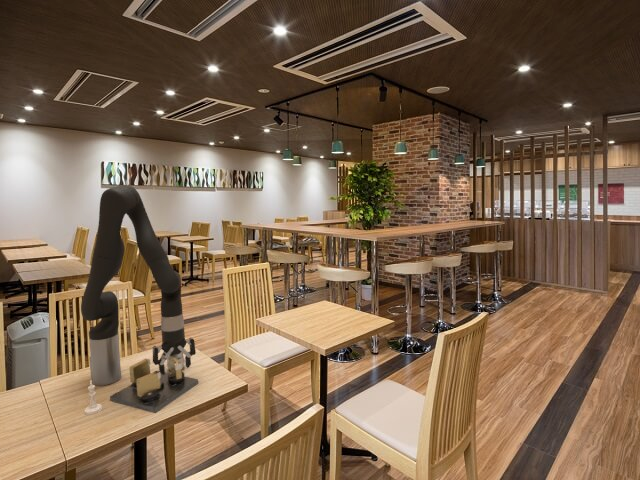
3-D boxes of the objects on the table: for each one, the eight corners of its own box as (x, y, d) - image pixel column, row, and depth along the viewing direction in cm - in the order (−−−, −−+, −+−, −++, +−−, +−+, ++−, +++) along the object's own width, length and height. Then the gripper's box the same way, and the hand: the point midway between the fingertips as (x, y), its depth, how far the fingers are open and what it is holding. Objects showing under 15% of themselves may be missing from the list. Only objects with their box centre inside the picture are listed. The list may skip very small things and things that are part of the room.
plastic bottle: (179, 373, 143) (176, 323, 140) (163, 372, 144) (160, 322, 142) (188, 366, 149) (185, 318, 147) (173, 364, 150) (170, 317, 148)
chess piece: (83, 416, 115) (80, 385, 114) (85, 408, 119) (82, 379, 118) (101, 411, 117) (99, 382, 116) (102, 404, 122) (100, 375, 121)
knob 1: (138, 389, 128) (137, 368, 127) (126, 386, 130) (125, 366, 129) (155, 379, 134) (153, 360, 133) (143, 377, 136) (142, 357, 135)
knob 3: (165, 379, 135) (164, 359, 134) (181, 374, 138) (180, 355, 137) (171, 386, 129) (170, 366, 128) (187, 381, 132) (186, 361, 132)
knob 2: (144, 404, 118) (142, 382, 117) (134, 399, 121) (133, 377, 120) (164, 394, 124) (163, 373, 123) (155, 390, 127) (153, 369, 126)
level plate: (109, 400, 124) (108, 392, 124) (155, 374, 143) (155, 367, 142) (155, 412, 116) (155, 404, 116) (198, 383, 135) (198, 376, 135)
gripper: (154, 334, 124) (157, 380, 125) (196, 325, 132) (198, 368, 134) (148, 328, 130) (151, 372, 131) (189, 320, 138) (192, 361, 140)
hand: (175, 370), depth 133 cm, fingers open, 8 cm apart
